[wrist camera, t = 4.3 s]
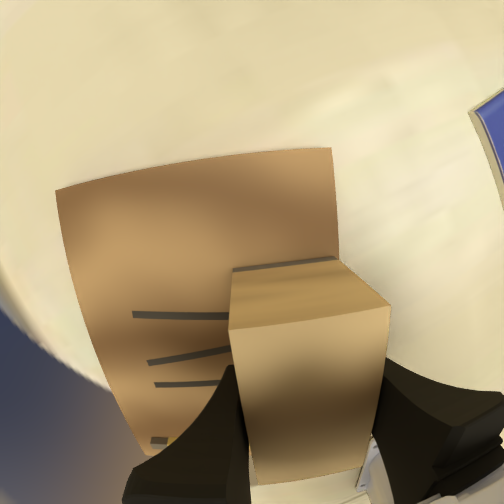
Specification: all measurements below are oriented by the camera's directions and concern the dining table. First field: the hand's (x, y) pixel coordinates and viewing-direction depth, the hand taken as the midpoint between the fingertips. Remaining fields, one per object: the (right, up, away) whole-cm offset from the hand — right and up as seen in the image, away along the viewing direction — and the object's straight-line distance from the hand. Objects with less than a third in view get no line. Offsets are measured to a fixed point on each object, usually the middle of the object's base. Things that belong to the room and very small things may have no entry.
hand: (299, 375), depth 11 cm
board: (-4, 0, +4) cm, 6 cm away
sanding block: (0, +1, +2) cm, 3 cm away
